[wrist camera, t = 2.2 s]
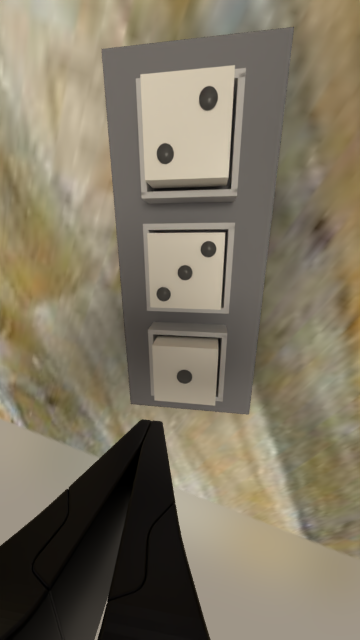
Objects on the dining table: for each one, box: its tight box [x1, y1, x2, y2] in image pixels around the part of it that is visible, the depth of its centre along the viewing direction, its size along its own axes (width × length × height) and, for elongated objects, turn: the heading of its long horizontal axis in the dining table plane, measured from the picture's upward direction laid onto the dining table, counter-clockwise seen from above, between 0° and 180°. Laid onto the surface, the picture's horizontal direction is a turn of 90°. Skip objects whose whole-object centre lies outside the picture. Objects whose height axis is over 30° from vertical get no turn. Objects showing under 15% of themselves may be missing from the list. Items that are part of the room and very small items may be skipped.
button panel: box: [102, 27, 294, 414], centre depth 18 cm, size 12×28×4 cm, turn 0°
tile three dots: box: [147, 233, 225, 310], centre depth 16 cm, size 5×5×2 cm
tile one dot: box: [152, 336, 218, 406], centre depth 18 cm, size 5×5×2 cm
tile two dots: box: [140, 65, 235, 188], centre depth 13 cm, size 5×5×2 cm
